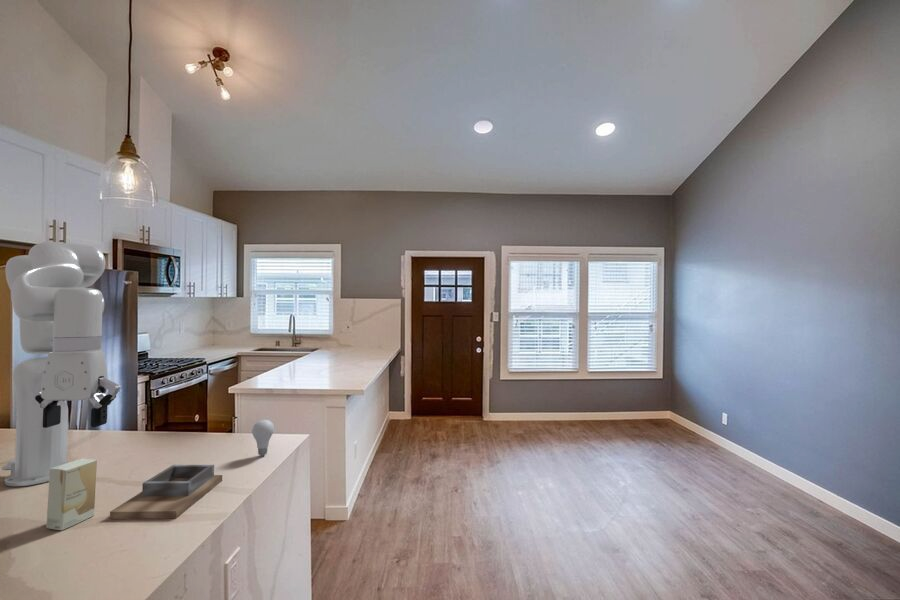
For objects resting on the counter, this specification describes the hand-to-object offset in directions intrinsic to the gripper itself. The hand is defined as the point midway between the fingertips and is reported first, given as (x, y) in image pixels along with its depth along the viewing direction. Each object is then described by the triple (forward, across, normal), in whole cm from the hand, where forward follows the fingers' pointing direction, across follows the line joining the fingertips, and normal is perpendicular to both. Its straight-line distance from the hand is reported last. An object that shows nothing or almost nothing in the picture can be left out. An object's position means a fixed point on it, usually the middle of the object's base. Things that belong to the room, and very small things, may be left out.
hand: (75, 425), depth 81 cm
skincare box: (+21, 0, 0) cm, 21 cm away
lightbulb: (+20, +24, +36) cm, 48 cm away
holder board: (+20, +14, +10) cm, 27 cm away
